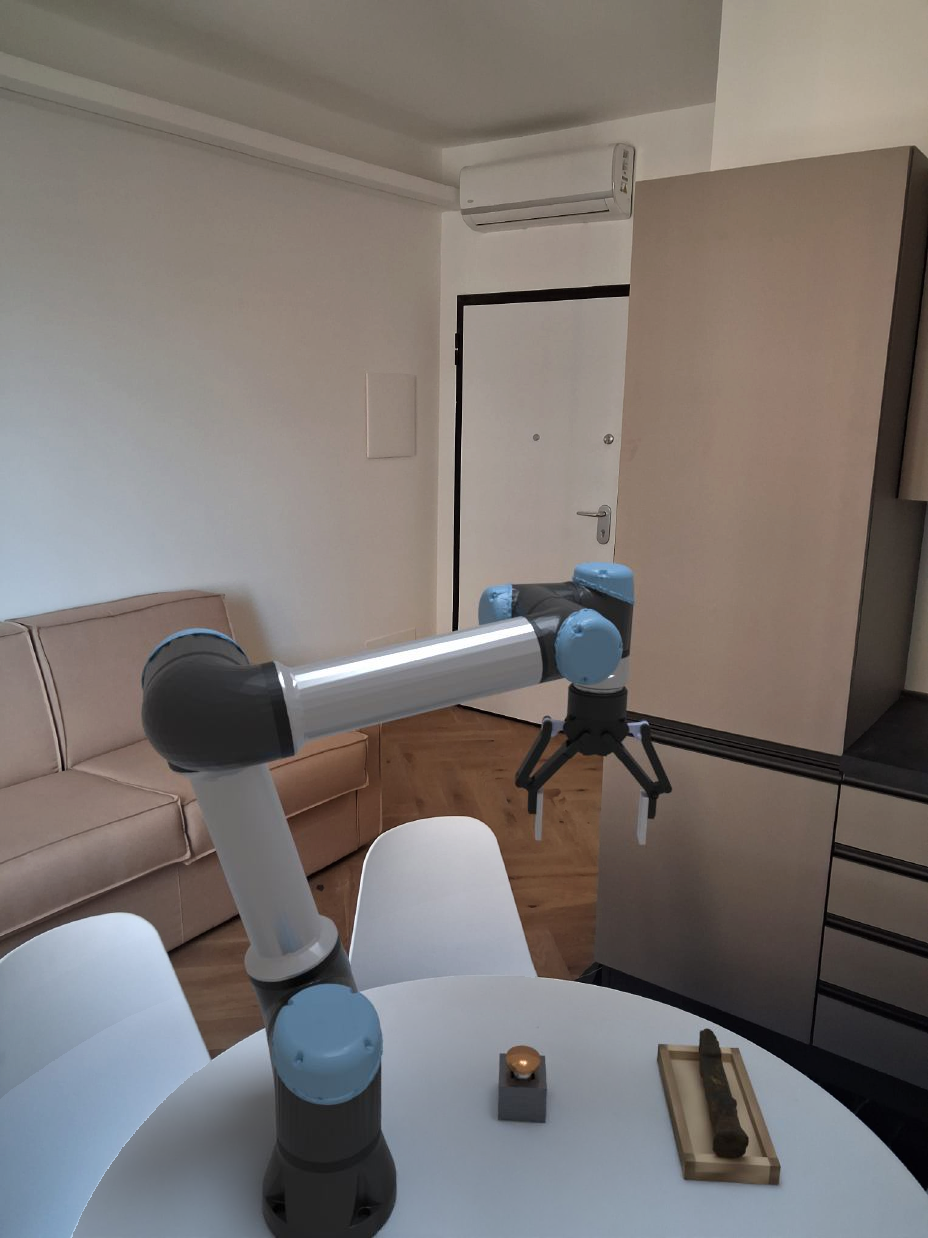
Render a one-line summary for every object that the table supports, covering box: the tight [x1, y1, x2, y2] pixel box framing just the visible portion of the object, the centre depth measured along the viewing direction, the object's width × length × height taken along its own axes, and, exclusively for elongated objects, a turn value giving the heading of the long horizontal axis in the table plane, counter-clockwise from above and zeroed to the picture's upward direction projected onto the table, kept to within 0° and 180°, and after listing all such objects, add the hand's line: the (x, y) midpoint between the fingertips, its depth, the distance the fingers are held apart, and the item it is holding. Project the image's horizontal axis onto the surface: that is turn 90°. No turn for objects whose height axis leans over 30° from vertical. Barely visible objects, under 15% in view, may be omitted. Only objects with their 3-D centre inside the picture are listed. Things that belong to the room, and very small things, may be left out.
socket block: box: [497, 1052, 548, 1124], centre depth 117 cm, size 6×6×5 cm
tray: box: [656, 1043, 782, 1186], centre depth 115 cm, size 11×20×3 cm, turn 177°
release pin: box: [505, 1044, 541, 1080], centre depth 116 cm, size 4×4×7 cm
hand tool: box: [698, 1028, 749, 1158], centre depth 114 cm, size 19×4×5 cm, turn 173°
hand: (589, 838), depth 120 cm, fingers open, 13 cm apart
